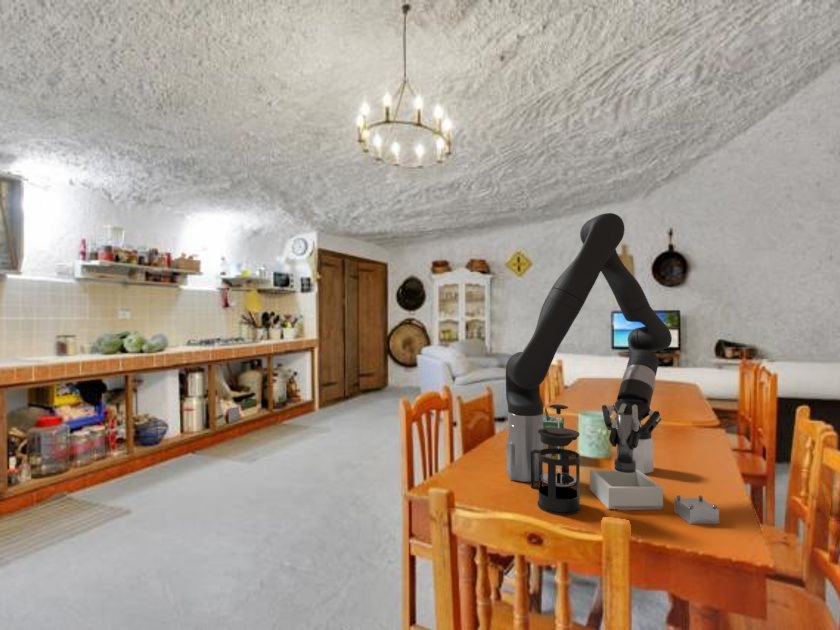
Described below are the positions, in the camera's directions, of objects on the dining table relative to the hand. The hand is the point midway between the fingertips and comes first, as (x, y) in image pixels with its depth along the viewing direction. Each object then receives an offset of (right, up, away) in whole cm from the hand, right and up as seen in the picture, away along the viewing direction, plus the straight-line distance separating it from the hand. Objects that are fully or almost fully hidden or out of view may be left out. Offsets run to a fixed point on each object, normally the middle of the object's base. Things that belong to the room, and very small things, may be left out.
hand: (622, 446), depth 108 cm
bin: (+1, -13, +2) cm, 13 cm away
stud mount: (+12, -13, -9) cm, 20 cm away
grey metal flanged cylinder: (+1, -6, +2) cm, 6 cm away
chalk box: (-7, -13, +35) cm, 38 cm away
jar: (+13, -13, +22) cm, 29 cm away
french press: (-16, -13, -2) cm, 21 cm away
